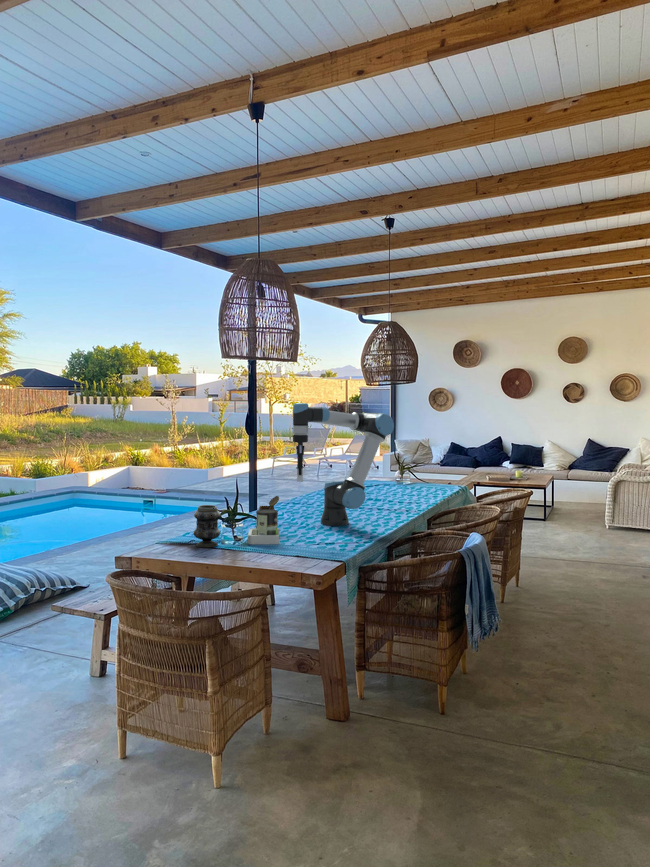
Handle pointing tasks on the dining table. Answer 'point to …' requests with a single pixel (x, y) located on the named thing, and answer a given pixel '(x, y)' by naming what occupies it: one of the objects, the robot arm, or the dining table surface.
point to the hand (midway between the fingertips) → (299, 481)
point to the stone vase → (207, 525)
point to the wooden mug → (271, 503)
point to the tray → (262, 538)
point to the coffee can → (266, 522)
